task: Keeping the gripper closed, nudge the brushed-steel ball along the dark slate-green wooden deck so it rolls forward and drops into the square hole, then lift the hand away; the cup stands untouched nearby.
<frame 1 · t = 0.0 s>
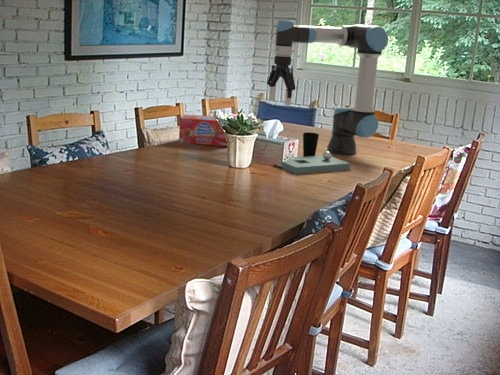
hand: (279, 103, 293), 28 cm above the table, fingers open, 13 cm apart
cup: (308, 158, 315), on the table
box: (206, 143, 336), on the table
ball: (327, 155, 298), point 5 cm above the table, touching deck
deck: (312, 167, 296), on the table
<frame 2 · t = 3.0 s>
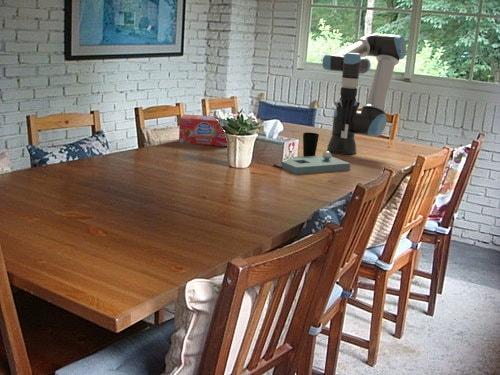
hand: (343, 137, 300), 13 cm above the table, fingers closed
nothing on the table moved.
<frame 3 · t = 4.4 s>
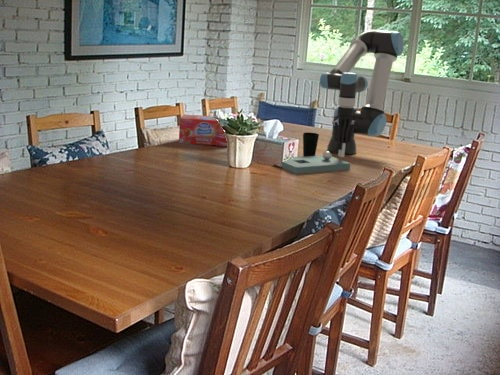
hand: (341, 156, 303), 4 cm above the table, fingers closed
nothing on the table moved.
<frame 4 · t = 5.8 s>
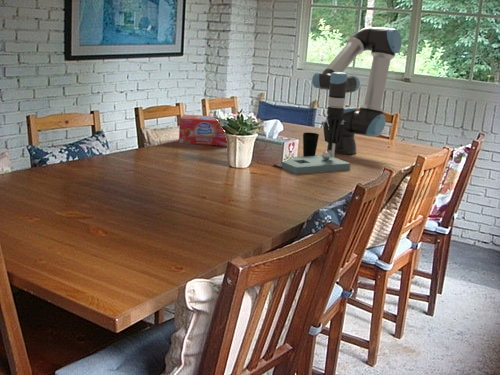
hand: (331, 156, 300), 4 cm above the table, fingers closed
ball: (326, 155, 298), point 5 cm above the table, tilted 11°, touching deck, gripper
everything else where it was.
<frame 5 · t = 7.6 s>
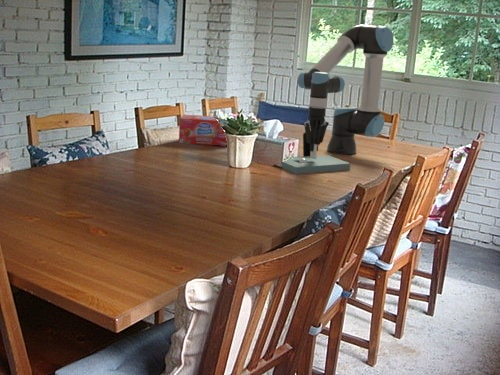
hand: (312, 158, 295), 4 cm above the table, fingers closed
ball: (302, 162, 292), point 3 cm above the table, tilted 42°
everything else where it was.
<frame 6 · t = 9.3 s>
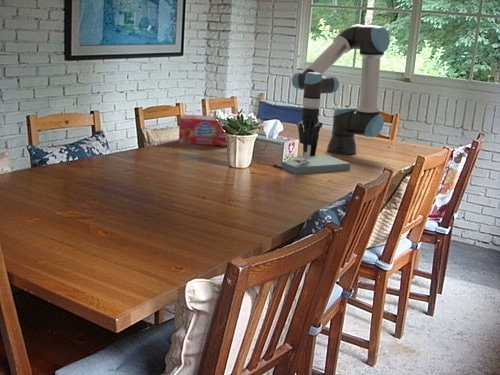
hand: (306, 158, 293), 4 cm above the table, fingers closed
ball: (303, 163, 293), point 2 cm above the table, tilted 47°
everything else where it was.
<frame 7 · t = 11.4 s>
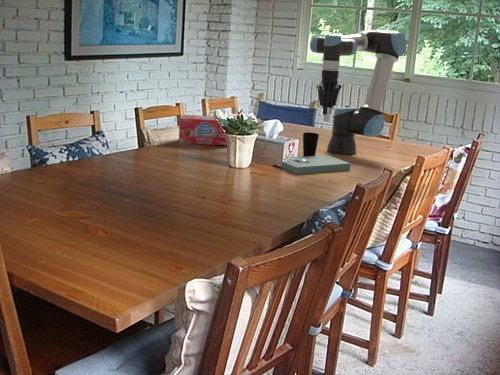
hand: (326, 121, 296), 21 cm above the table, fingers closed
ball: (302, 163, 293), point 2 cm above the table, tilted 59°
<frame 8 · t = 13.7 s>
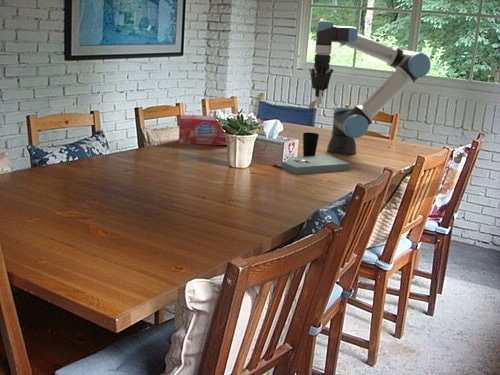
hand: (318, 103, 313), 26 cm above the table, fingers closed
ball: (301, 163, 292), point 2 cm above the table, tilted 72°
at the end: ball 0.1 cm from the target spot on the deck, point 2.0 cm above the deck's base; the gripper is holding nothing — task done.
